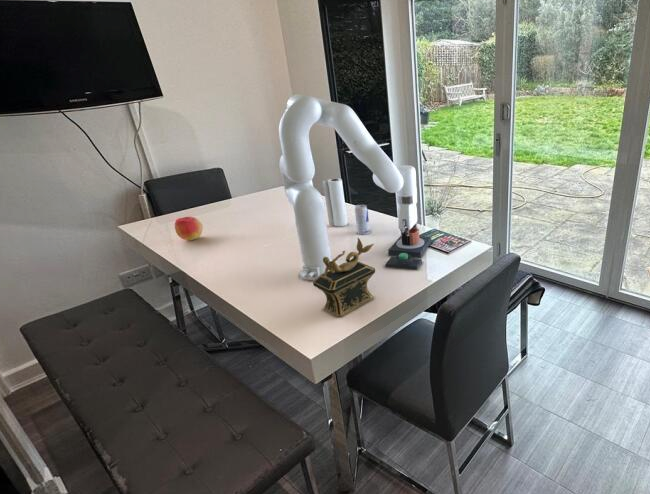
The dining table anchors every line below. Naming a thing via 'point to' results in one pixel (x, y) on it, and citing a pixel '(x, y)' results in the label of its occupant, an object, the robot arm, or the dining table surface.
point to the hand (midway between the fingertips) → (410, 240)
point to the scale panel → (404, 263)
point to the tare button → (403, 256)
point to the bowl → (413, 235)
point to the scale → (410, 247)
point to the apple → (188, 228)
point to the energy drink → (362, 219)
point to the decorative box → (345, 282)
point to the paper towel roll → (335, 202)
